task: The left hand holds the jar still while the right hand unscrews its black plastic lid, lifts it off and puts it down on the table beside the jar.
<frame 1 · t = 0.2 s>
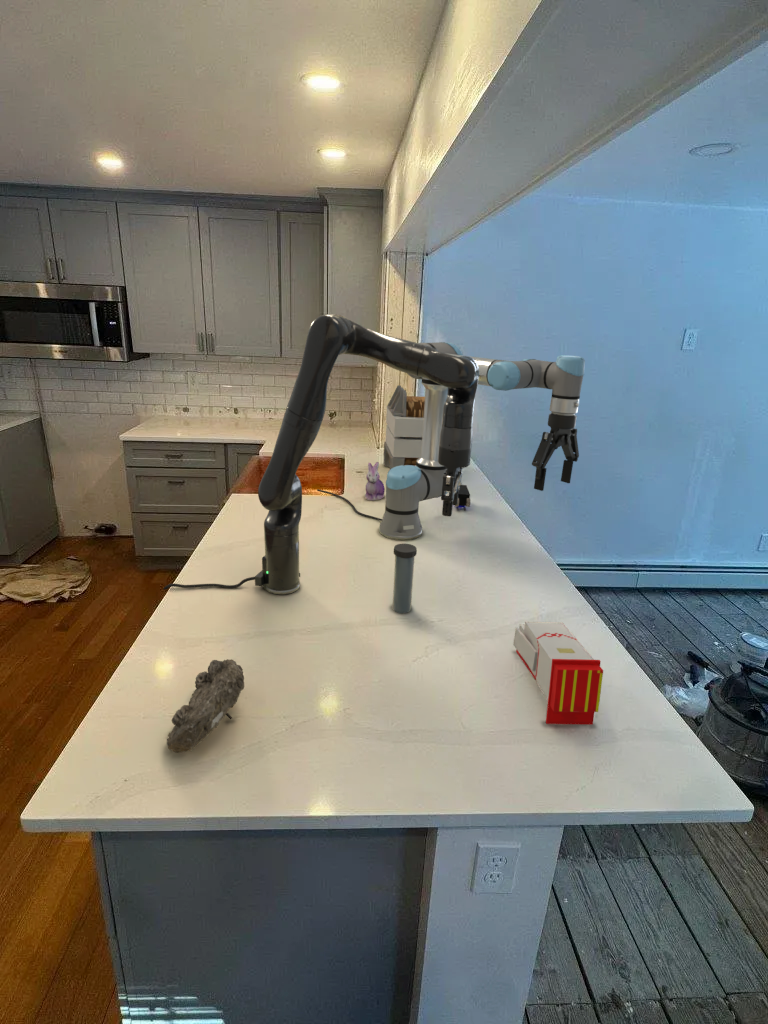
left hand: (449, 510, 138), 29 cm above the counter, tool pointing down, fingers open, 8 cm apart
right hand: (552, 485, 166), 28 cm above the counter, tool pointing down, fingers open, 13 cm apart
fossil: (212, 717, 108), on the counter
figurine: (374, 497, 237), on the counter
figurine character: (459, 506, 231), on the counter
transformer: (419, 473, 275), on the counter
jar: (401, 608, 150), on the counter
lid: (405, 549, 145), point 17 cm above the counter, screwed on, not yet turned
toy: (547, 682, 123), on the counter
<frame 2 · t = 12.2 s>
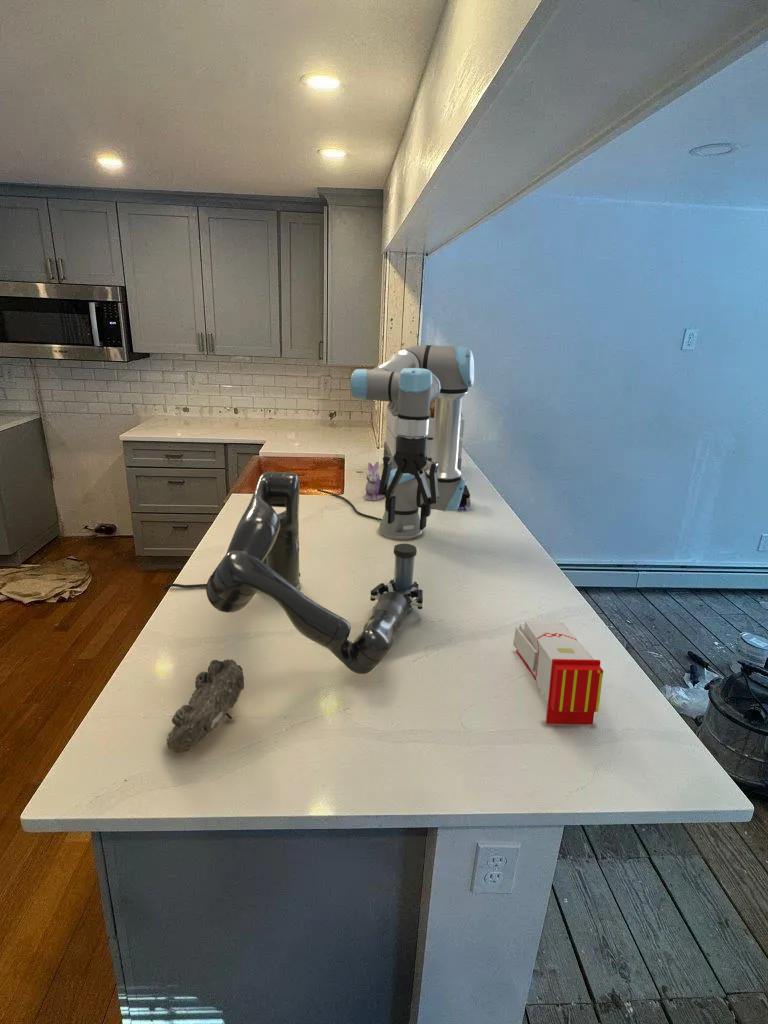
left hand: (405, 583, 151), 6 cm above the counter, tool horizontal, fingers closed on jar, 5 cm apart
right hand: (406, 524, 142), 24 cm above the counter, tool pointing down, fingers open, 8 cm apart
jar: (401, 608, 150), on the counter, touching left hand
everything else where it was.
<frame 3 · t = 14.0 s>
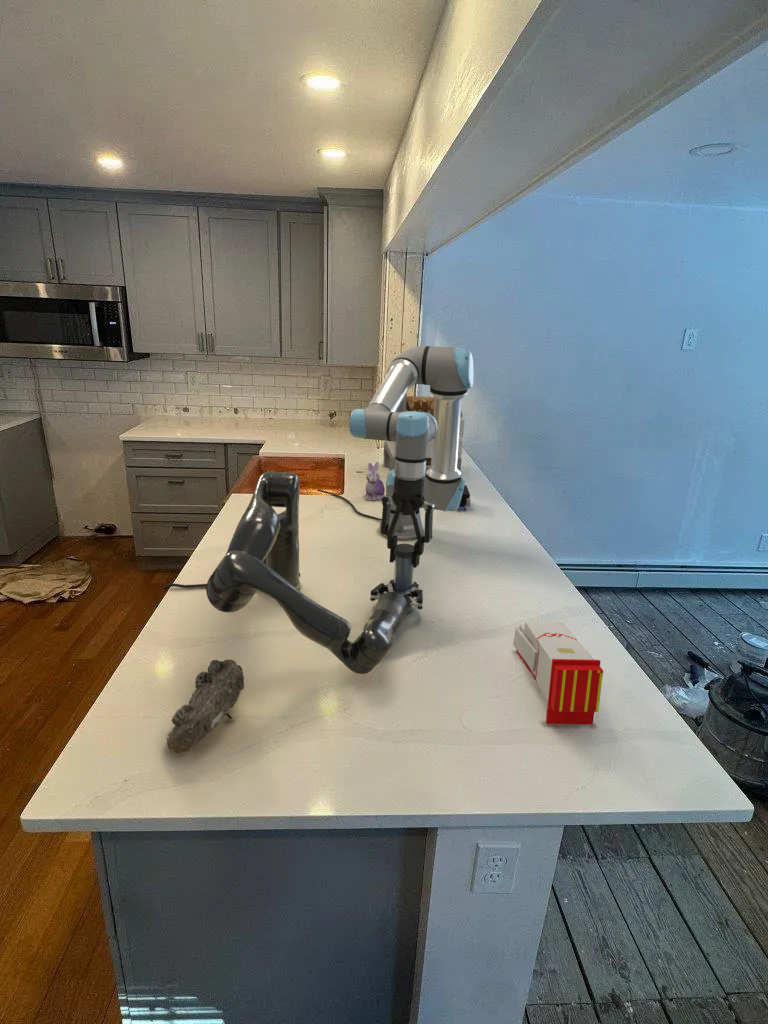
left hand: (405, 583, 151), 6 cm above the counter, tool horizontal, fingers closed on jar, 5 cm apart
right hand: (404, 562, 146), 13 cm above the counter, tool pointing down, fingers closed on lid, 6 cm apart
jar: (401, 608, 150), on the counter, touching left hand
lid: (405, 549, 145), point 17 cm above the counter, screwed on, not yet turned, touching right hand
everything else where it was.
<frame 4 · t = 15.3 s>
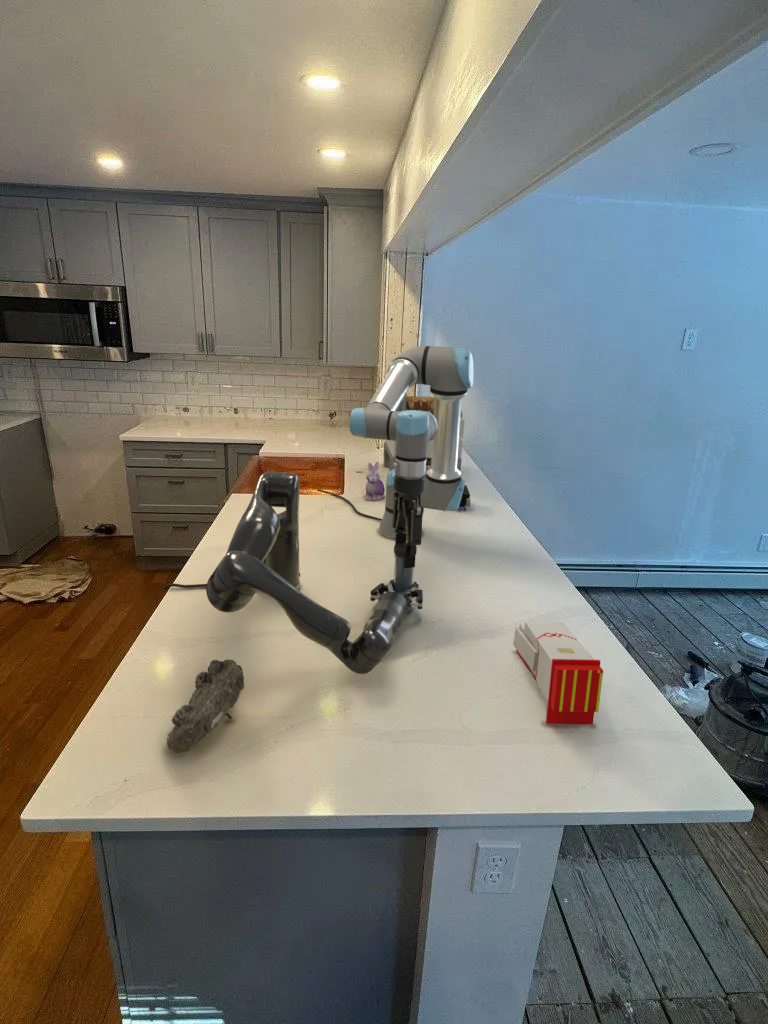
left hand: (405, 583, 151), 6 cm above the counter, tool horizontal, fingers closed on jar, 5 cm apart
right hand: (404, 561, 146), 14 cm above the counter, tool pointing down, fingers closed on lid, 6 cm apart
jar: (401, 608, 150), on the counter, touching left hand
lid: (405, 548, 144), point 17 cm above the counter, off its thread, touching right hand
everything else where it was.
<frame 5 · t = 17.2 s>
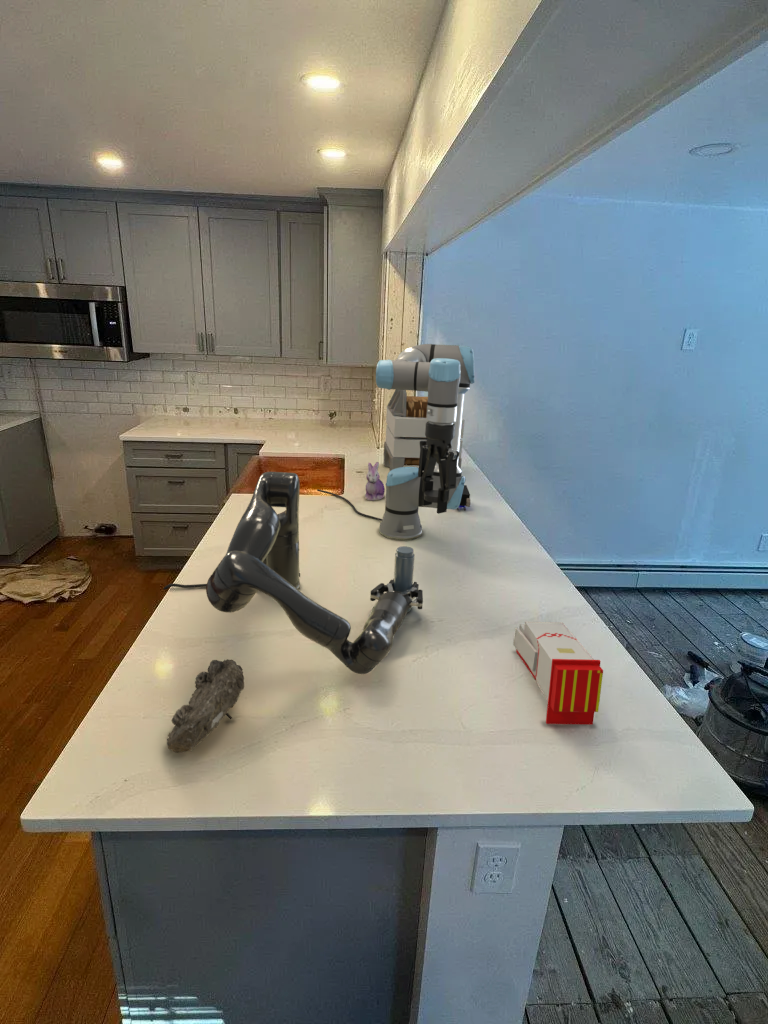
left hand: (405, 583, 151), 6 cm above the counter, tool horizontal, fingers closed on jar, 5 cm apart
right hand: (434, 508, 151), 25 cm above the counter, tool pointing down, fingers closed on lid, 6 cm apart
jar: (401, 608, 150), on the counter, touching left hand
lid: (435, 494, 150), point 29 cm above the counter, off its thread, touching right hand
everything else where it was.
when the right hand's fingers open (0 cm above the counter, at t = 21.2 s): lid drops 3 cm, point 1 cm above the counter.
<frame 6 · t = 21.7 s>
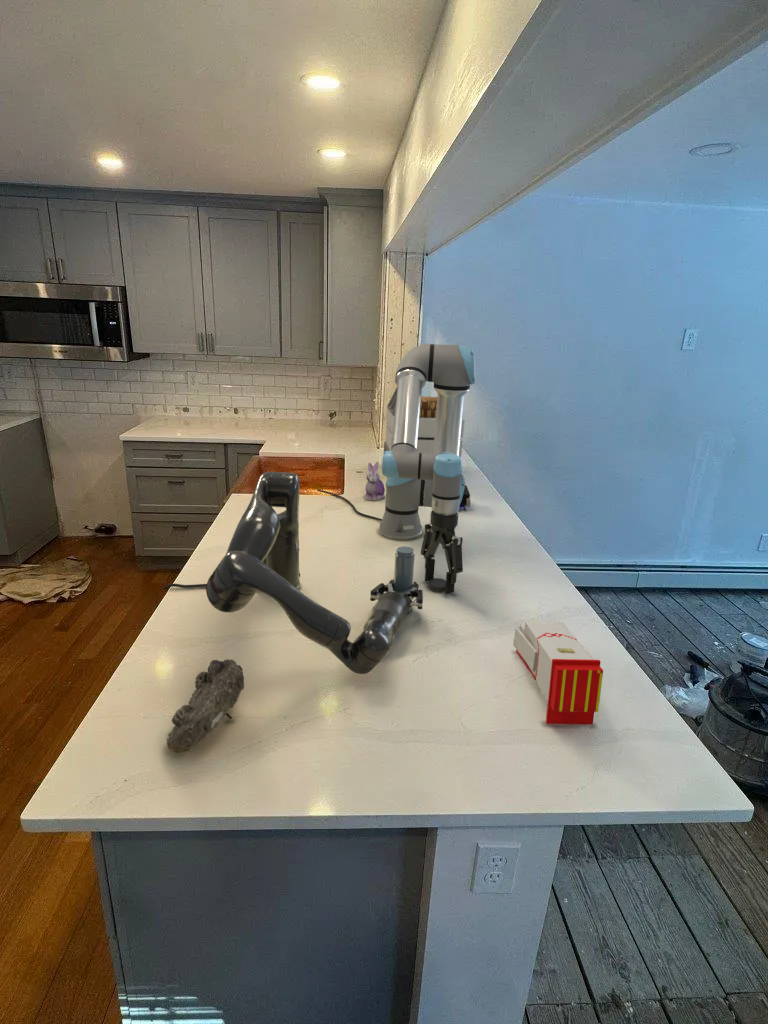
left hand: (405, 583, 151), 6 cm above the counter, tool horizontal, fingers closed on jar, 5 cm apart
right hand: (439, 586, 162), 1 cm above the counter, tool pointing down, fingers open, 8 cm apart
jar: (401, 608, 150), on the counter, touching left hand
lid: (438, 583, 162), point 1 cm above the counter, off its thread
everything else where it was.
when the left hand's fingers open (6 cm above the counter, at t = 22.3 s): jar stays where it is, on the counter.
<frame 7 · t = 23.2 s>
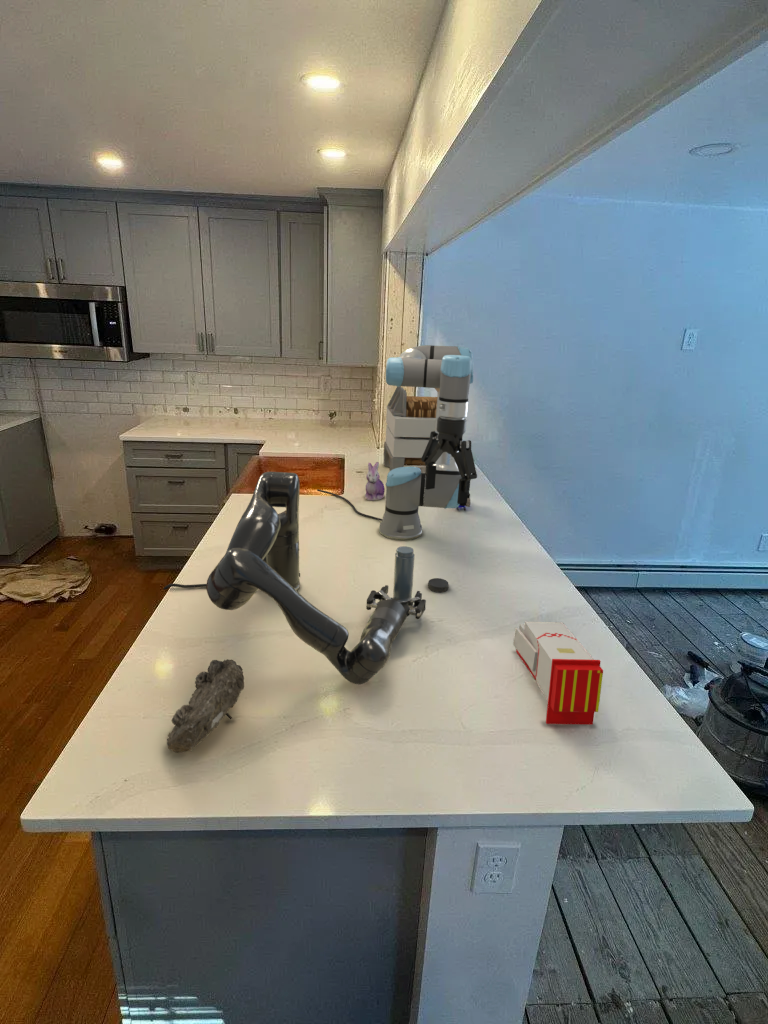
left hand: (402, 591, 148), 6 cm above the counter, tool horizontal, fingers open, 8 cm apart
right hand: (445, 495, 153), 28 cm above the counter, tool pointing down, fingers open, 13 cm apart
jar: (401, 608, 150), on the counter
everything else where it was.
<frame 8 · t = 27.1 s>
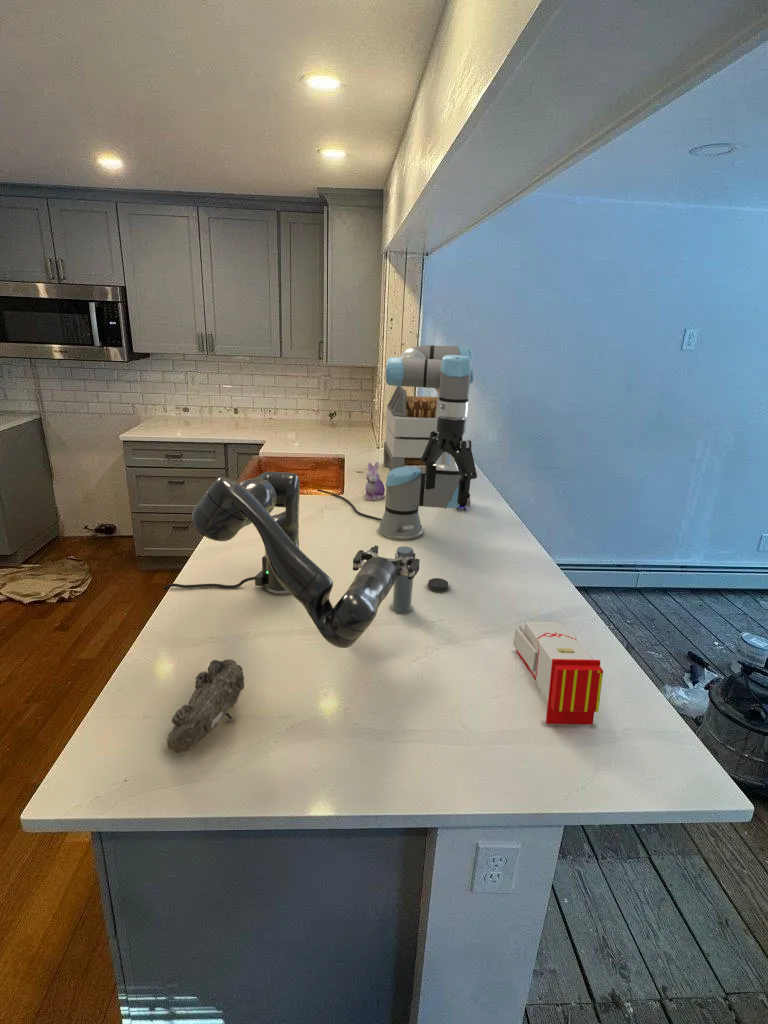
left hand: (394, 551, 132), 21 cm above the counter, tool horizontal, fingers open, 8 cm apart
right hand: (445, 495, 153), 28 cm above the counter, tool pointing down, fingers open, 13 cm apart
nothing on the counter moved.
at the end: lid came off its thread; lid point 1.3 cm above the counter; the left hand is holding nothing; the right hand is holding nothing; jar tilted 0°; jar moved 0.0 cm from its start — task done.
